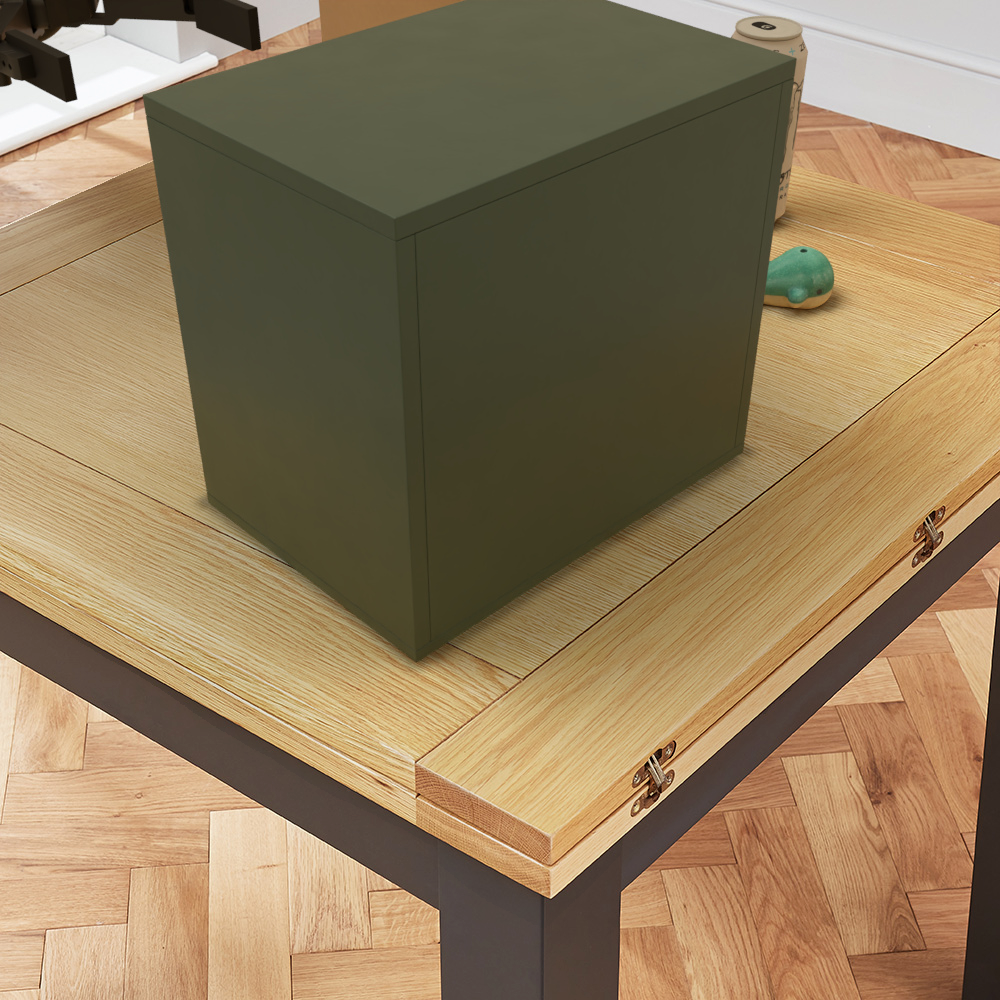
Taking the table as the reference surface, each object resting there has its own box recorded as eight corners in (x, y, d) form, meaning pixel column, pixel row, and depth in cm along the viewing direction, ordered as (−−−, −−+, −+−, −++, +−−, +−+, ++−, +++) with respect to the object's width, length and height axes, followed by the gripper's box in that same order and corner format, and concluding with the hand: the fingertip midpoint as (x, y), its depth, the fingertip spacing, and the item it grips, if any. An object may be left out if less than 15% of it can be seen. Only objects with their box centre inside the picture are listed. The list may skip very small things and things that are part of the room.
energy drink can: (747, 241, 103) (772, 46, 94) (691, 214, 107) (709, 24, 98) (799, 220, 106) (828, 28, 97) (743, 194, 110) (766, 7, 101)
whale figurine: (843, 315, 94) (852, 266, 92) (744, 325, 93) (750, 276, 91) (812, 276, 99) (819, 229, 97) (716, 286, 98) (722, 238, 96)
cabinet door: (406, 182, 112) (393, -127, 97) (597, 312, 94) (615, -40, 80) (333, 202, 109) (309, -114, 94) (517, 339, 91) (521, -21, 77)
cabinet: (208, 505, 77) (141, 94, 62) (531, 343, 91) (537, -22, 77) (416, 666, 67) (394, 218, 52) (743, 455, 81) (797, 57, 66)
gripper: (159, -3, 106) (327, 66, 94) (-156, 72, 92) (-7, 164, 80) (144, -105, 101) (319, -47, 89) (-189, -43, 87) (-36, 36, 75)
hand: (166, 53), depth 84 cm, fingers open, 13 cm apart
